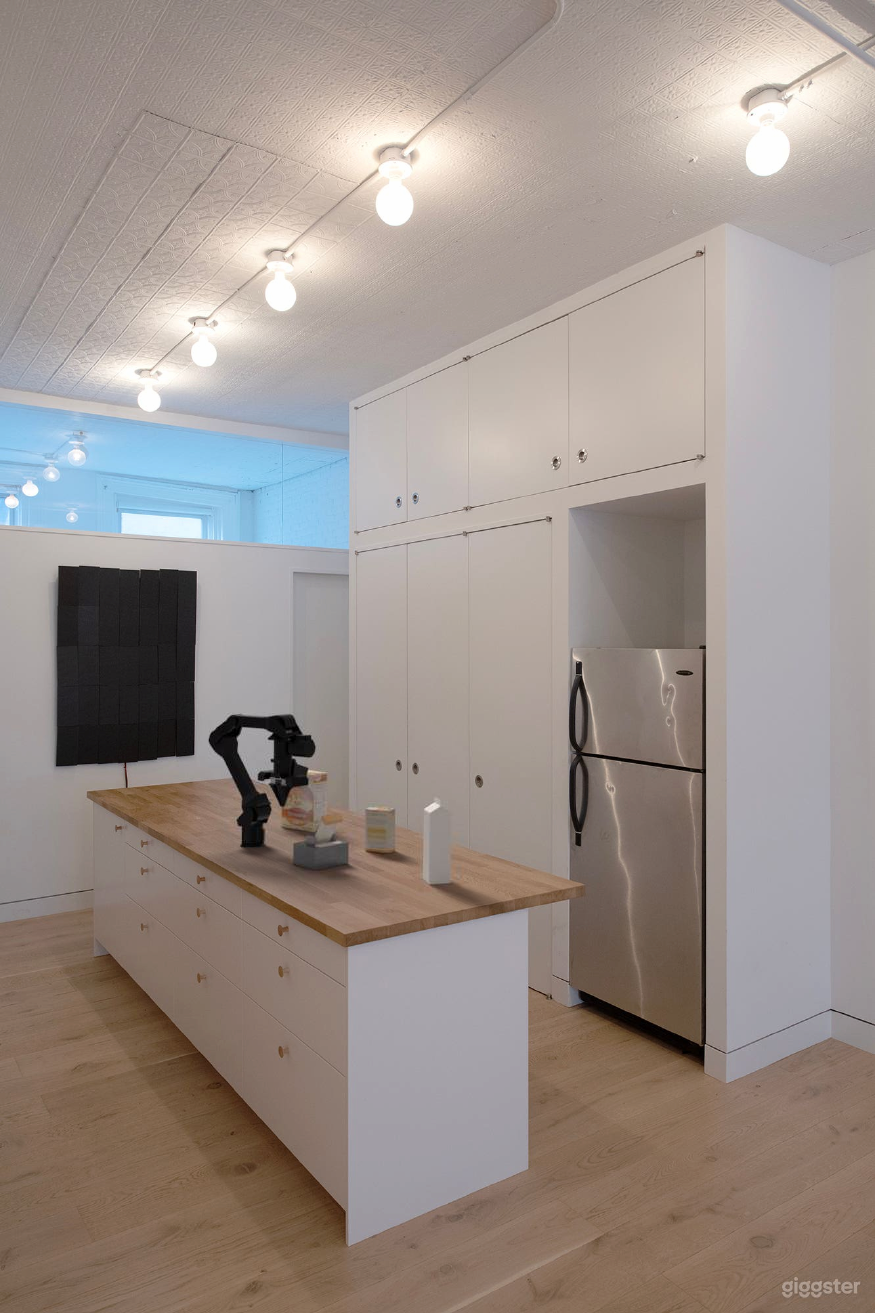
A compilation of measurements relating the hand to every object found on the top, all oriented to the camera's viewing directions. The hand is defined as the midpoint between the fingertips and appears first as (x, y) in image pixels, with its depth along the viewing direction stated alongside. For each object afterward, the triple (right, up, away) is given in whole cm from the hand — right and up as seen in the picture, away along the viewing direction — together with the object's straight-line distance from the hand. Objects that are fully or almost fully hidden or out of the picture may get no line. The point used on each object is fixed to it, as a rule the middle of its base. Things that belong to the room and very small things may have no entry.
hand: (282, 806), depth 270 cm
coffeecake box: (+2, -13, +32) cm, 35 cm away
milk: (+47, -14, -35) cm, 60 cm away
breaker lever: (+14, -7, -18) cm, 24 cm away
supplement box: (+30, -14, -1) cm, 33 cm away
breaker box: (+14, -13, -18) cm, 26 cm away
